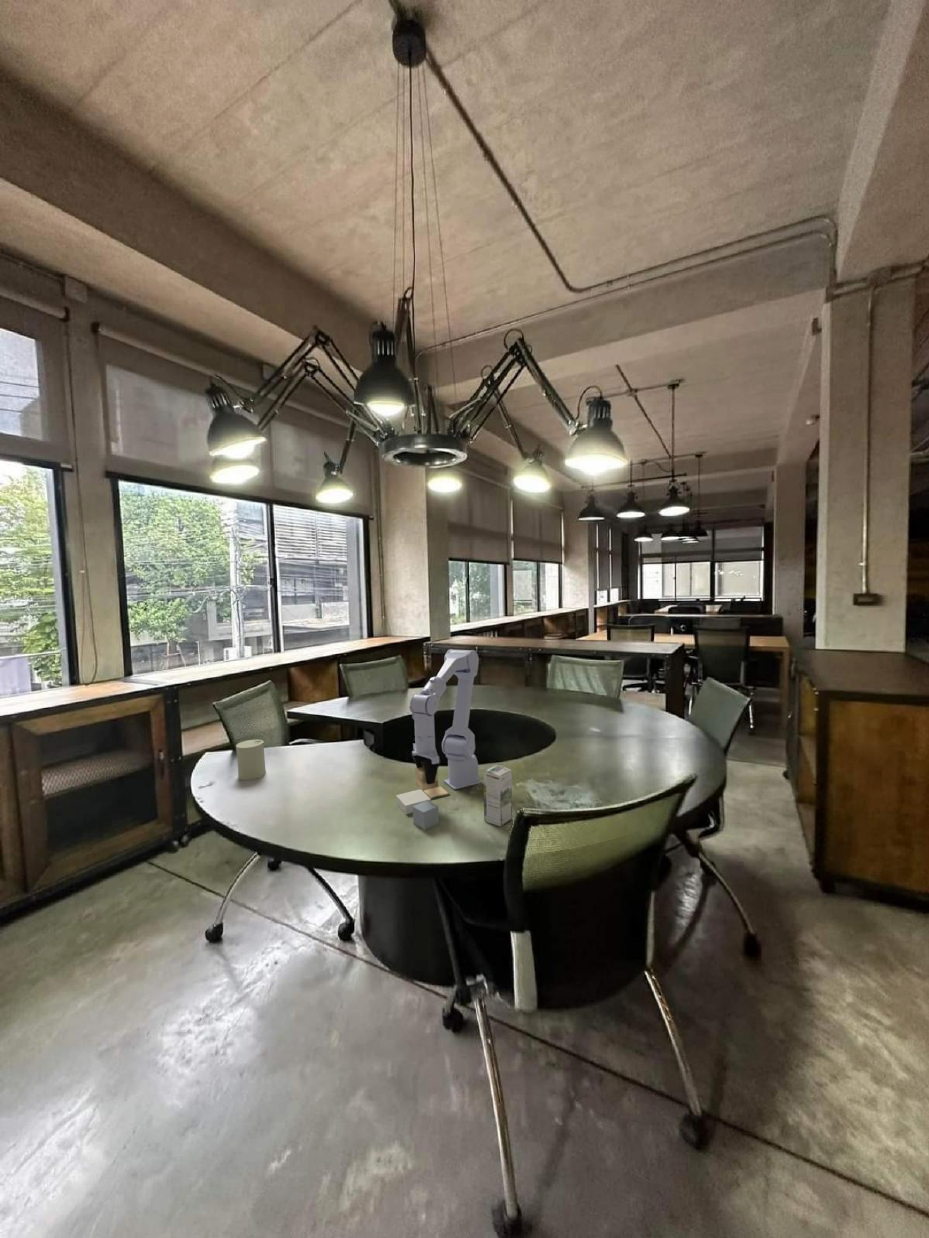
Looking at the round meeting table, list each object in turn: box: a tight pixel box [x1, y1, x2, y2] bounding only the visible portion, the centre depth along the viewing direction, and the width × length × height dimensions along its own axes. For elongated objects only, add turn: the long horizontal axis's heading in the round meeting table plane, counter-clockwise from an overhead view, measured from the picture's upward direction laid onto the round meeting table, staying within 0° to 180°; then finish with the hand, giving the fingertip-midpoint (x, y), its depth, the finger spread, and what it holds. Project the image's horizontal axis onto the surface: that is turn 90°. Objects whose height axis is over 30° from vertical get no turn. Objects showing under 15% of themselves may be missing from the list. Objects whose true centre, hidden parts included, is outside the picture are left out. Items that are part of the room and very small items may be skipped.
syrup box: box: [482, 765, 513, 828], centre depth 136 cm, size 6×6×14 cm
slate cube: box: [412, 801, 440, 831], centre depth 136 cm, size 5×5×5 cm
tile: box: [423, 785, 451, 801], centre depth 155 cm, size 7×7×1 cm
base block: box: [395, 788, 432, 815], centre depth 147 cm, size 8×8×3 cm
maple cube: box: [414, 767, 439, 791], centre depth 145 cm, size 5×5×5 cm
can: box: [235, 738, 267, 781], centre depth 175 cm, size 9×9×12 cm
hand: (426, 780), depth 145 cm, fingers closed on maple cube, 5 cm apart
